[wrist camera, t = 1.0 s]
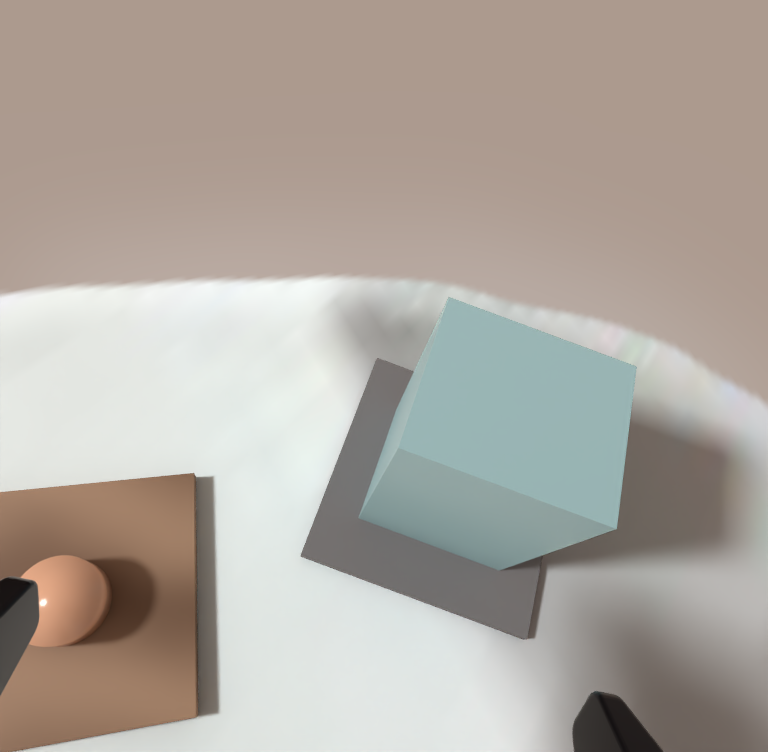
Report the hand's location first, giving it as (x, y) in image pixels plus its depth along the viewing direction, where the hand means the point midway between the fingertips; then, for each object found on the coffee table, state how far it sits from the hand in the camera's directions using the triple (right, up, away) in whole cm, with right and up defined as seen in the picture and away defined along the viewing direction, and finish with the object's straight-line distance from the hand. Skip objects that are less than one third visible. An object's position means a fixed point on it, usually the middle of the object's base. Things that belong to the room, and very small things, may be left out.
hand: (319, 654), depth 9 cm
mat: (+4, -1, +17) cm, 17 cm away
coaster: (-11, -4, +12) cm, 17 cm away
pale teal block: (+4, -1, +16) cm, 17 cm away
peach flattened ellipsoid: (-11, -4, +12) cm, 17 cm away
